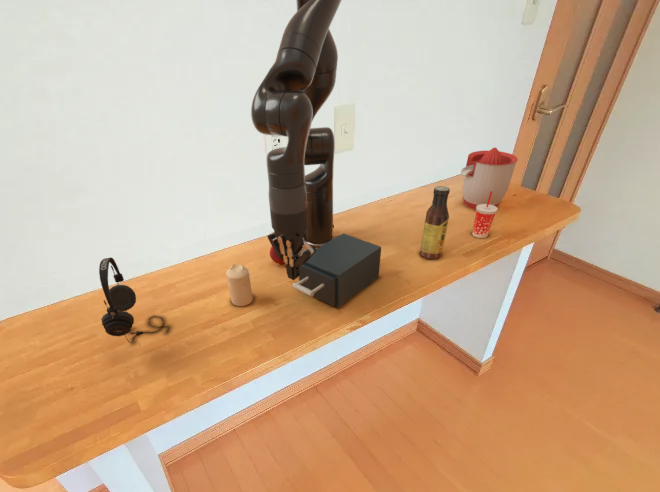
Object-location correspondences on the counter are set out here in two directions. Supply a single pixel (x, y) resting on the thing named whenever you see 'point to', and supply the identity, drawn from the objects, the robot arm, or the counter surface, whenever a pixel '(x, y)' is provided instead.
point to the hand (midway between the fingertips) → (293, 277)
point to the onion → (275, 256)
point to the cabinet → (348, 264)
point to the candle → (239, 285)
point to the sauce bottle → (435, 224)
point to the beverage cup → (483, 219)
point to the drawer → (317, 284)
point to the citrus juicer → (487, 177)
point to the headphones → (117, 302)
